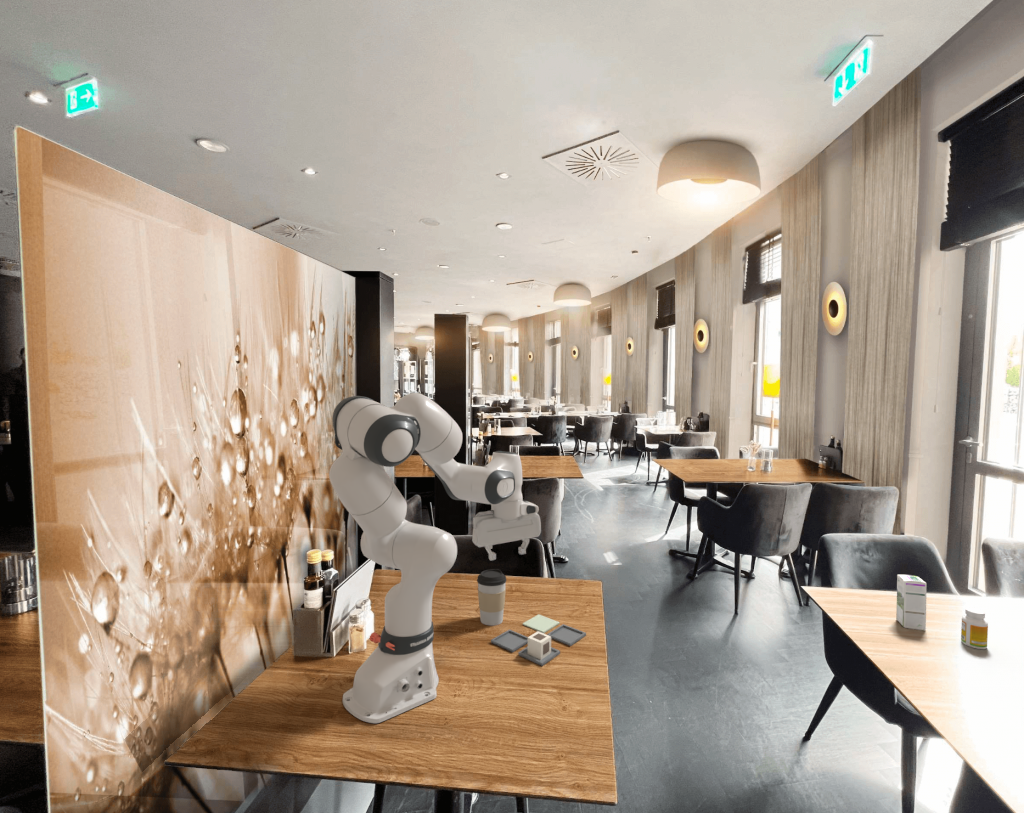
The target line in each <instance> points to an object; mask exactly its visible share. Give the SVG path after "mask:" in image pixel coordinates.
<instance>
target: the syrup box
mask: <svg viewBox="0 0 1024 813" xmlns="http://www.w3.org/2000/svg"><path fill="white" fill-rule="evenodd" d="M896 578H897V580H896V612H895V613H896V621H898V623H899V624H900V625H901V627H903V628H906V629H910V630H917V631H926V629H927V628H926V626H927V582H926V581H924V580H923V579H922V578H920V576H917V575H912V574H897V575H896Z"/></svg>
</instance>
